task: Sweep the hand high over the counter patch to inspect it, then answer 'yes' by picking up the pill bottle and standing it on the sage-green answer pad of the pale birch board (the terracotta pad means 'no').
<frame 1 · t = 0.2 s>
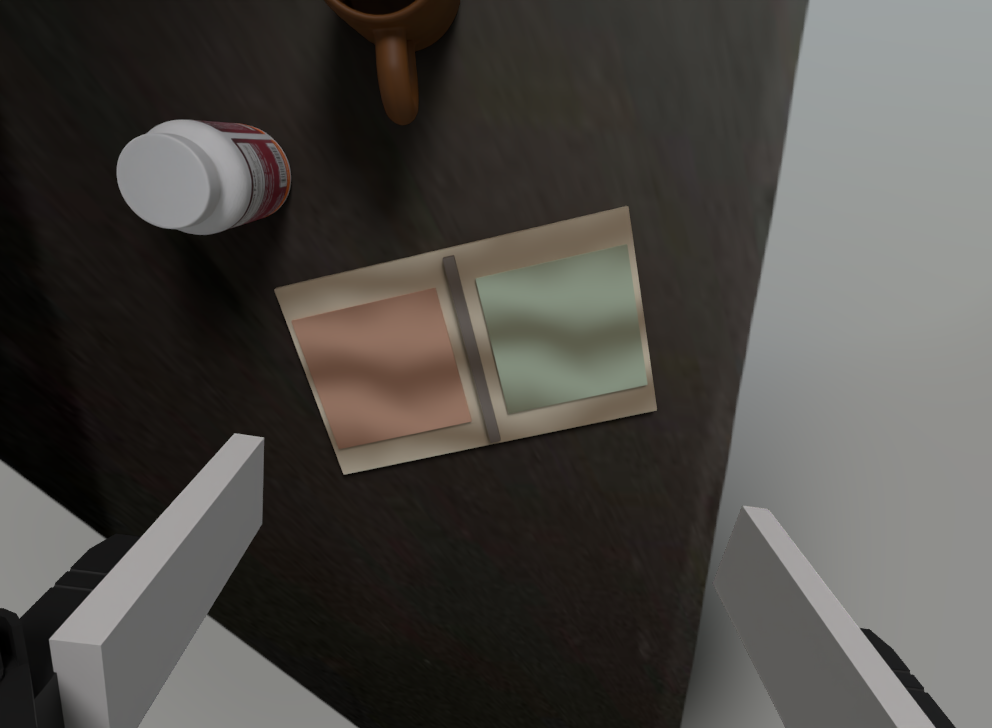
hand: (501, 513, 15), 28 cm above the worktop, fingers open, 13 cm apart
pill bottle: (250, 172, 39), on the worktop
mug: (407, 27, 36), on the worktop
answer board: (473, 349, 43), on the worktop
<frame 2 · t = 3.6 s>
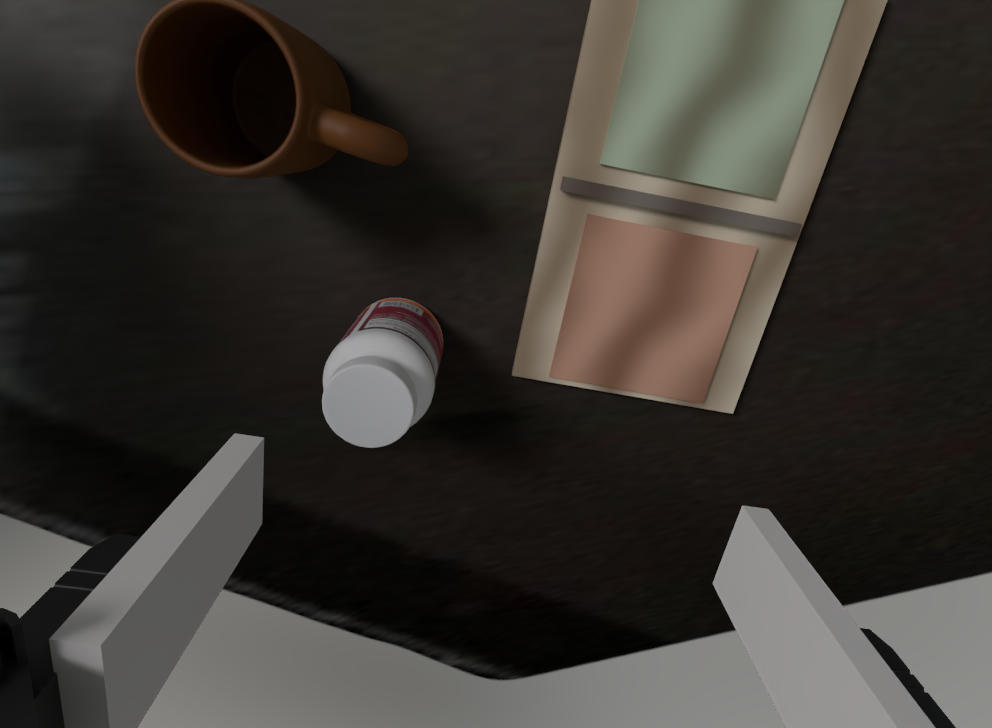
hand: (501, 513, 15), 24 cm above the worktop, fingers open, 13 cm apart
pill bottle: (400, 338, 39), on the worktop
mug: (328, 118, 34), on the worktop
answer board: (676, 205, 36), on the worktop
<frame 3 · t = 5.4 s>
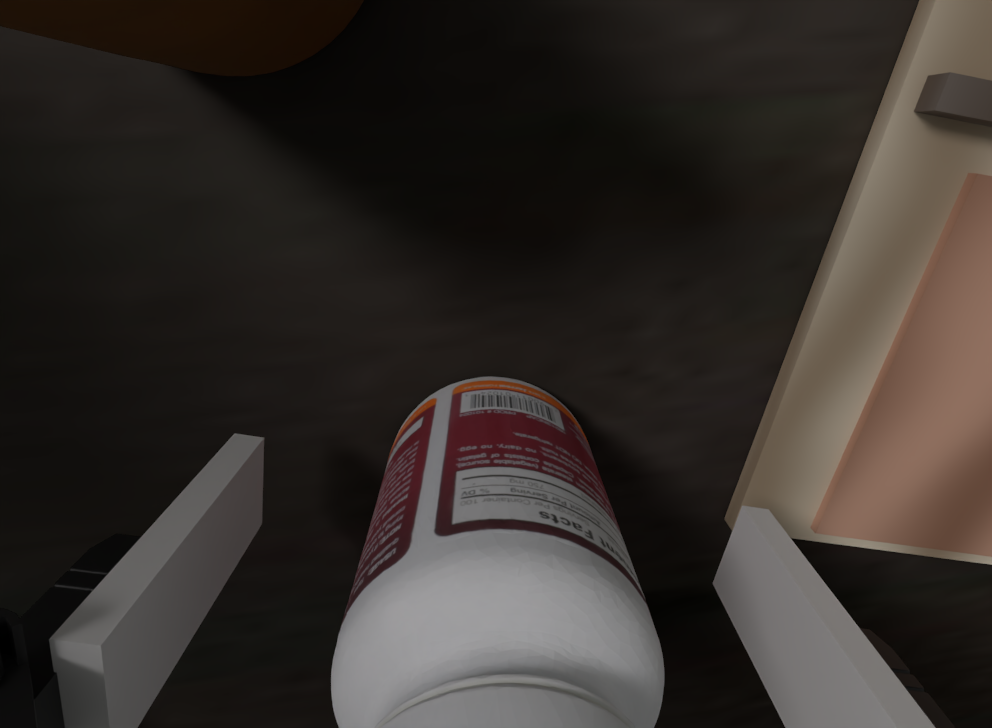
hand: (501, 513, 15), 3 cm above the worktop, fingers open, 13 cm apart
pill bottle: (491, 456, 18), on the worktop
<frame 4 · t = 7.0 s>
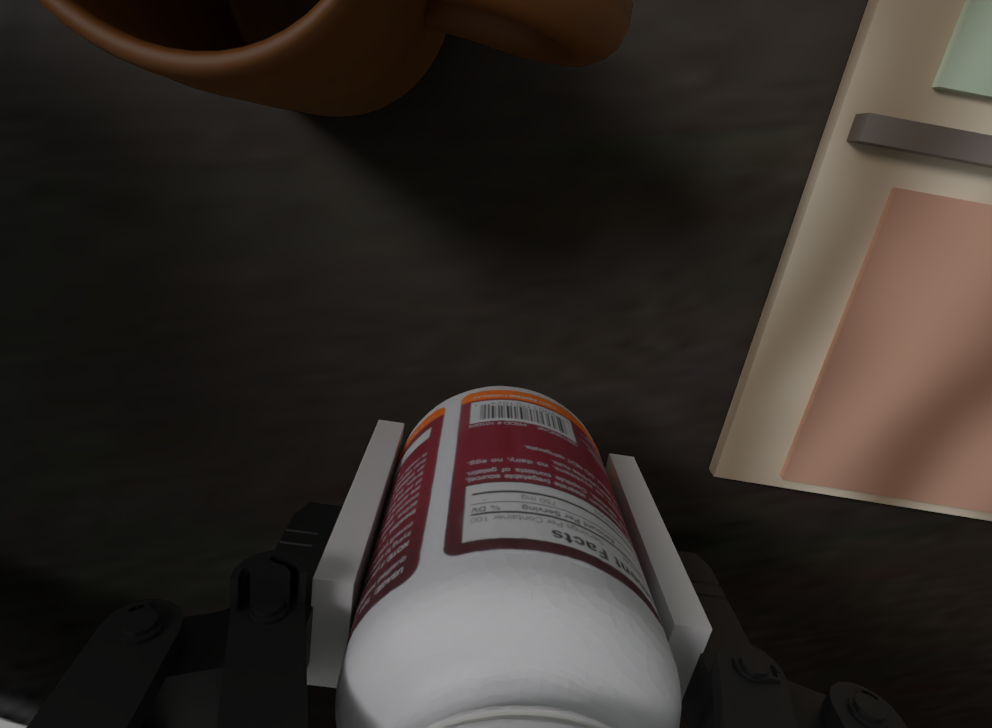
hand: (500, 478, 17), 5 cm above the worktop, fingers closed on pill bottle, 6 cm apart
pill bottle: (500, 467, 18), point 5 cm above the worktop, touching gripper
mug: (405, 13, 18), on the worktop
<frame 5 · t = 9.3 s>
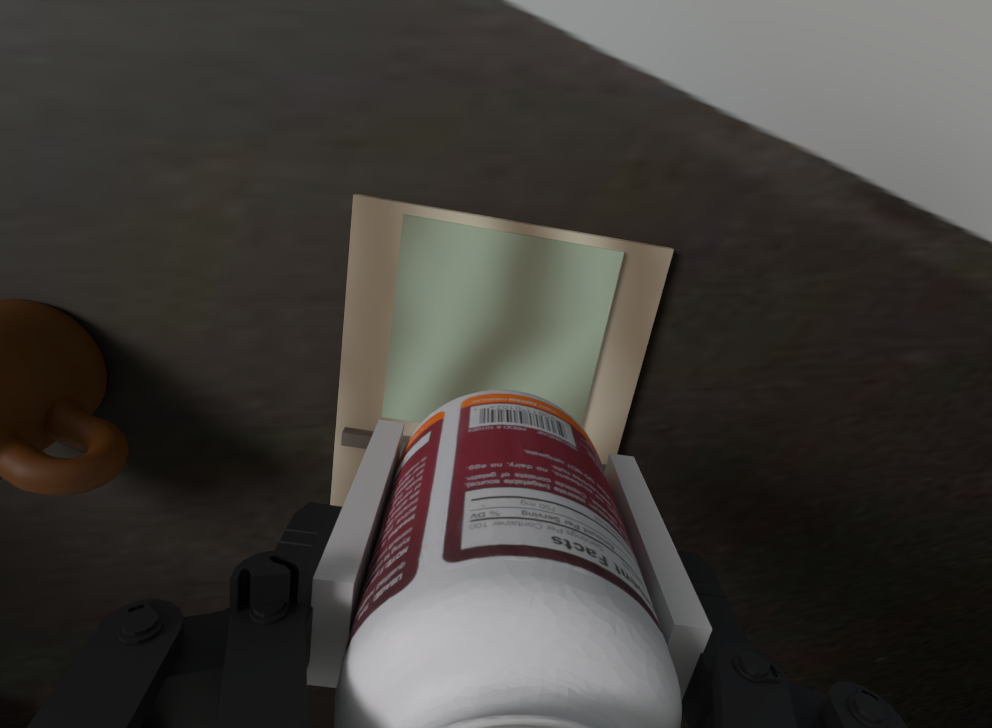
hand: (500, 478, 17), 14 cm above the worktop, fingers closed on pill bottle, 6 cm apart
pill bottle: (500, 470, 18), point 14 cm above the worktop, touching gripper
mug: (86, 372, 31), on the worktop
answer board: (476, 446, 33), on the worktop
when the fingers open (2 cm above the worktop, at t = 11.6 s): pill bottle drops 1 cm, resting on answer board.
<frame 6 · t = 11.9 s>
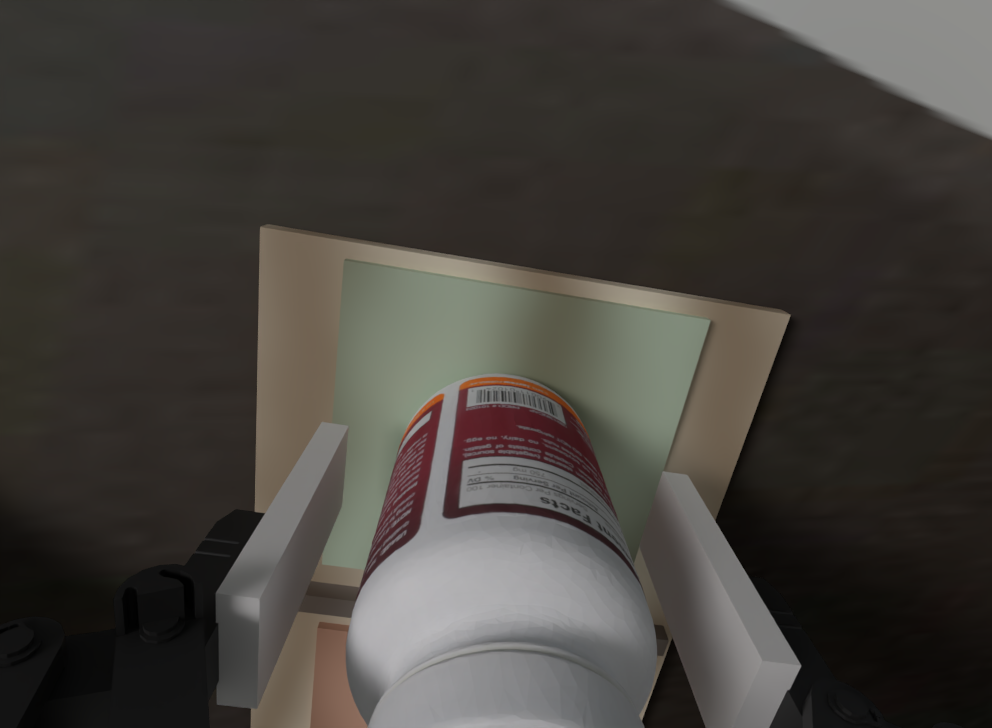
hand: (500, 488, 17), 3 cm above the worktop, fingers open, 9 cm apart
pill bottle: (496, 450, 19), point 1 cm above the worktop, touching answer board
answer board: (469, 597, 22), on the worktop
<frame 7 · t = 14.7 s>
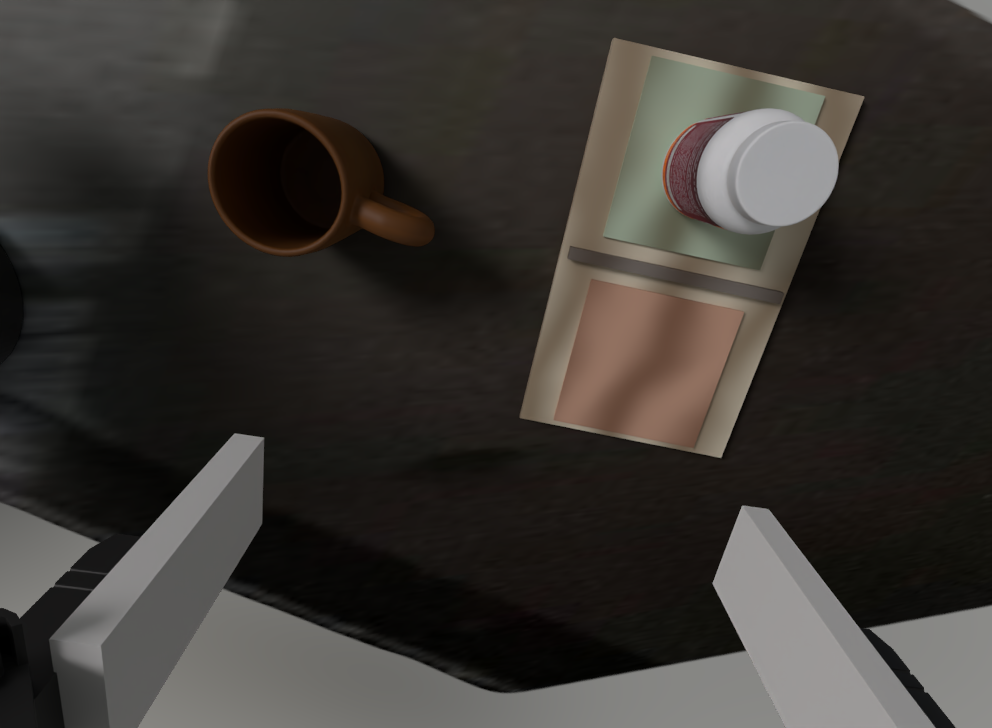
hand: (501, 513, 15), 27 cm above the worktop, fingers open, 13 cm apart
pill bottle: (706, 169, 37), point 1 cm above the worktop, touching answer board
mug: (363, 190, 38), on the worktop
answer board: (671, 272, 40), on the worktop
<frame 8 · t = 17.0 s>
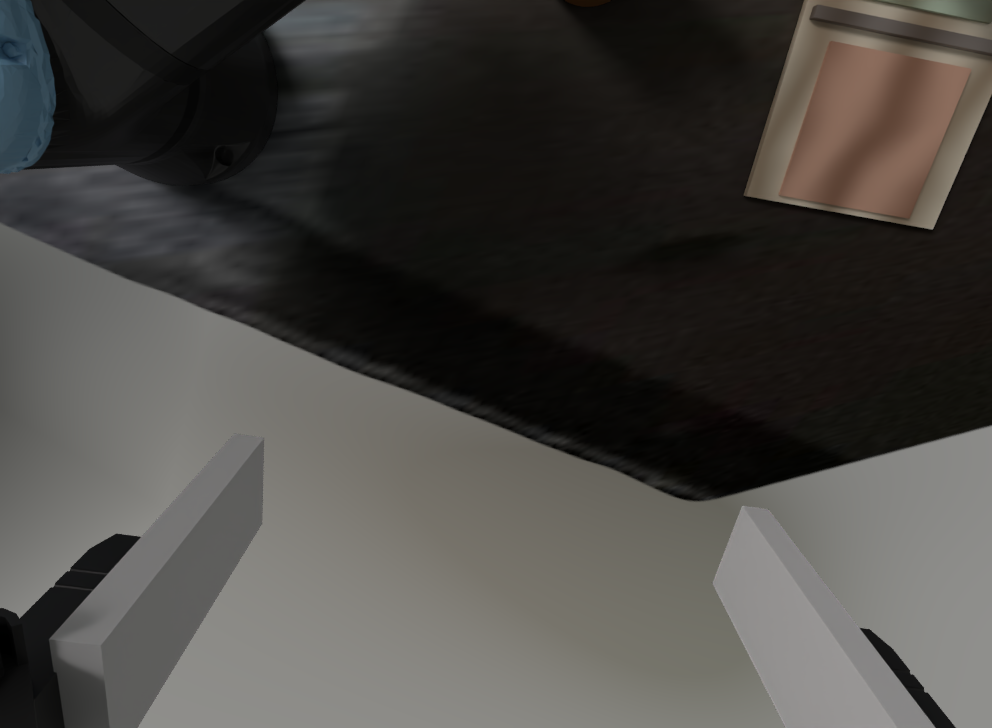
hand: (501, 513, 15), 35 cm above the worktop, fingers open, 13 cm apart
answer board: (902, 34, 42), on the worktop
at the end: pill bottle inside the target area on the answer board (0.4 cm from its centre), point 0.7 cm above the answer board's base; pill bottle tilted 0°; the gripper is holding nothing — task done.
